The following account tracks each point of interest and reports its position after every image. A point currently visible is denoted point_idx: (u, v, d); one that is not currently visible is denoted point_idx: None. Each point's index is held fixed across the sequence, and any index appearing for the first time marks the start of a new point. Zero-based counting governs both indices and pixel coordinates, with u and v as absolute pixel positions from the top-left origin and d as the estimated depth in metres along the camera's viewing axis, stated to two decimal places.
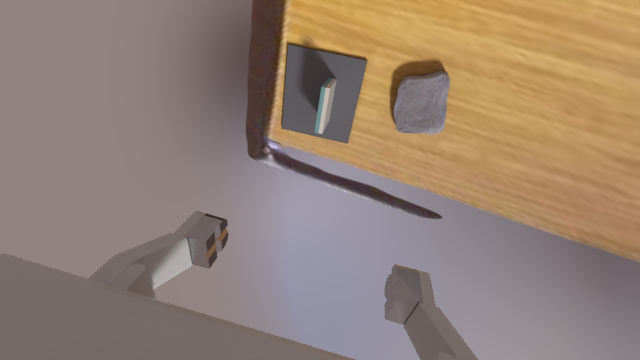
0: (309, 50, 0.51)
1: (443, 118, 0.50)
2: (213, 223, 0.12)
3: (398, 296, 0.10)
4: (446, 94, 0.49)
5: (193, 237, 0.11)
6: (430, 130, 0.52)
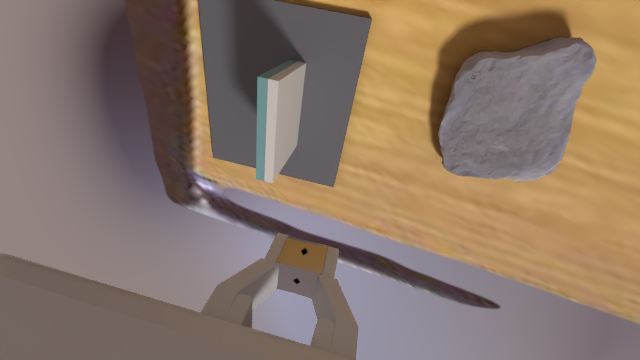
0: None
1: (562, 148, 0.22)
2: (299, 246, 0.11)
3: (299, 269, 0.10)
4: (577, 93, 0.20)
5: (284, 262, 0.11)
6: (525, 173, 0.23)
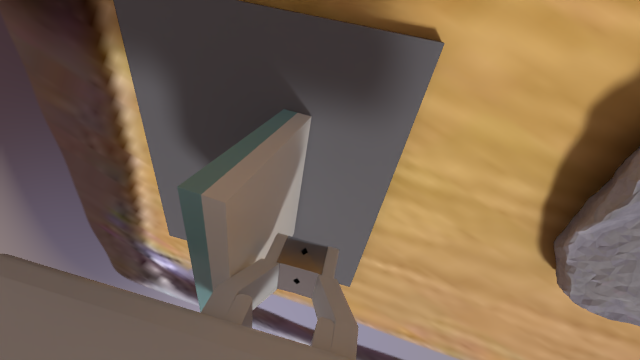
0: None
1: None
2: (299, 246, 0.11)
3: (299, 269, 0.10)
4: None
5: (284, 263, 0.11)
6: None
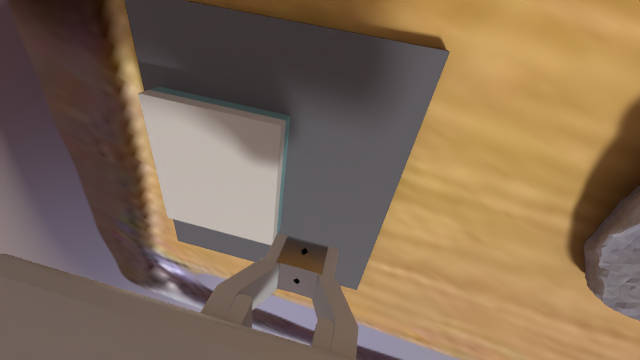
0: (206, 11, 0.13)
1: None
2: (299, 246, 0.11)
3: (299, 269, 0.10)
4: None
5: (284, 262, 0.11)
6: None
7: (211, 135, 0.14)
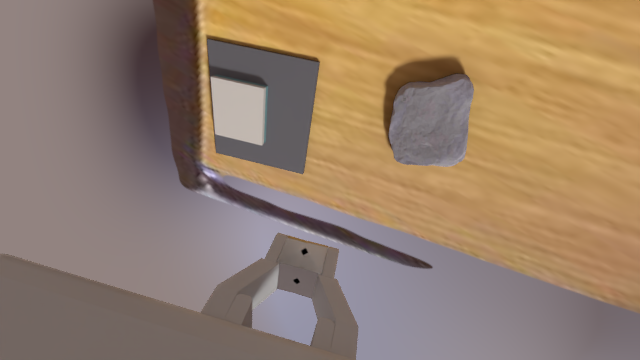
0: (237, 47, 0.36)
1: (464, 144, 0.34)
2: (299, 246, 0.11)
3: (299, 269, 0.10)
4: (467, 109, 0.32)
5: (284, 262, 0.11)
6: (444, 161, 0.35)
7: (237, 93, 0.38)
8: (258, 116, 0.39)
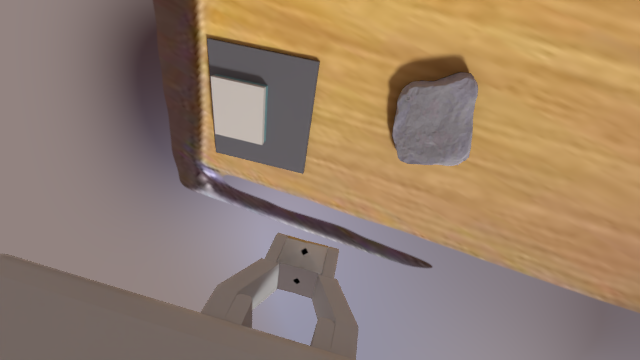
0: (237, 47, 0.36)
1: (468, 143, 0.33)
2: (299, 246, 0.11)
3: (299, 269, 0.10)
4: (472, 108, 0.32)
5: (284, 262, 0.11)
6: (448, 160, 0.35)
7: (237, 92, 0.38)
8: (258, 116, 0.39)
